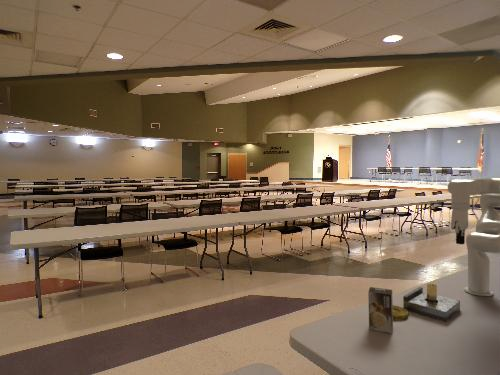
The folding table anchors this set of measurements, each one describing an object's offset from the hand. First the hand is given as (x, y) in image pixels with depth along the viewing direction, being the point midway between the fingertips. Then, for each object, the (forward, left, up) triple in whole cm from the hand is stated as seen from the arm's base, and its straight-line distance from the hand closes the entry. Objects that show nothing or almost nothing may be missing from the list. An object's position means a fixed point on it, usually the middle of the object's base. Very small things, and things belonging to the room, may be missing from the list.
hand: (460, 243), depth 161 cm
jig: (+19, -6, -29) cm, 35 cm away
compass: (+36, -16, -30) cm, 49 cm away
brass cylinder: (+19, -6, -27) cm, 34 cm away
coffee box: (+53, -13, -29) cm, 62 cm away
